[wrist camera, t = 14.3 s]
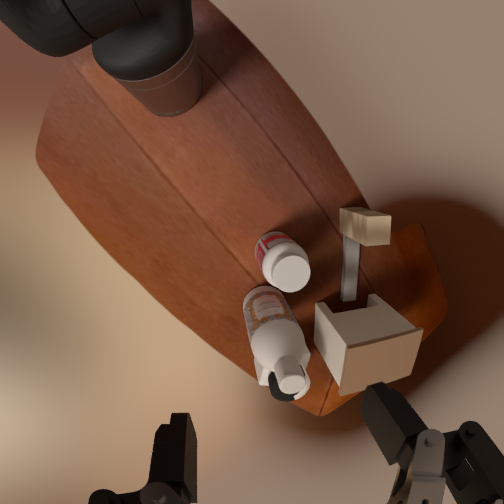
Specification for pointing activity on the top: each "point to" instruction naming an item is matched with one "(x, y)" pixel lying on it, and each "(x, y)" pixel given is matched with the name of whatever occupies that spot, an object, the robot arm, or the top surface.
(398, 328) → the cabinet
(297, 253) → the pill bottle
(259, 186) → the top surface
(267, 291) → the bath foam
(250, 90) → the top surface
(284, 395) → the medicine bottle
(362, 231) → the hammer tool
